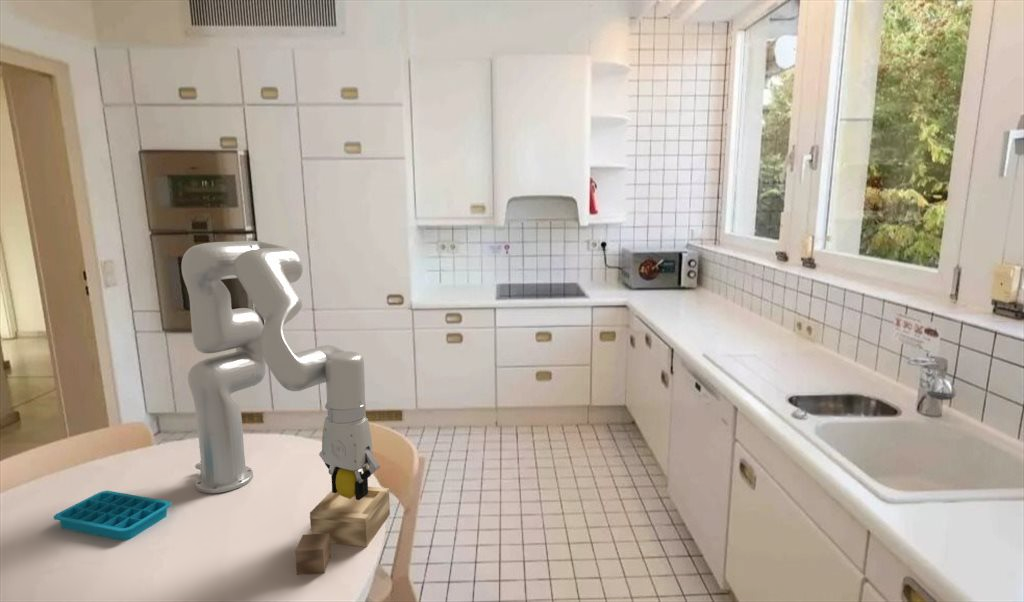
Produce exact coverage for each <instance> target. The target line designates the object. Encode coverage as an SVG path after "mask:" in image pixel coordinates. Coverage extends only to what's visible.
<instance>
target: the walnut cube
mask: <svg viewBox="0 0 1024 602" xmlns="http://www.w3.org/2000/svg"><path fill="white" fill-rule="evenodd" d="M294 552H295V553H294V554H295V568H296V572H295V573H296V575H297V576H299V575H317V574H325V573H326V569H327V567H328V565H329V561H330V559H331V557H332V556H331V543H330V534H329V533H328V534H311V533H310V534H302V536H301V538H300V540H299V542H298V544H297V546H296V548H295V549H294Z"/></svg>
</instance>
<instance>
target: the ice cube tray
mask: <svg viewBox="0 0 1024 602" xmlns="http://www.w3.org/2000/svg"><path fill="white" fill-rule="evenodd" d="M171 506H172V502H171V501H169V500H165V499H163V500H162V499H157V498H153V497H148V496H147V497H146V496H140V495H134V494H129V493H124V492H123V493H122V492H116V491H112V490H103V491H100V492H98V493H95V494H94V495H91V496H90V497H87V498H85V499H83V500H81V501H80V502H78V503H75V504H74V505H72V506H70V507H67V508H65V509H64V510H62V511H60V512H58V513H57V512H56V513H55V514H54V515H53V519H54V520H55V521H56V520H57V521H60V526H61V528H62V529H66V530H69V531H70V530H72V531H75V532H80V533H86V534H91V535H95V536H99V537H100V536H101V537H105V538H111V539H114V540H119V541H127V540H131V539H132V538H134V537H136V536H138V535H139V534H140V533H143V532H144V531H145V530H148V529H149V528H150V527H153V526H155V524H156V523H159V522H160V521H161V520H163V519H164V518H167V515H168V509H169V508H170V507H171Z"/></svg>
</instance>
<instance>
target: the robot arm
mask: <svg viewBox="0 0 1024 602" xmlns="http://www.w3.org/2000/svg"><path fill="white" fill-rule="evenodd" d="M302 262H303V261H302V260H301V258H300V256H299V255H298V254H297V253H296V252H295V251H294V250H292V249H291V248H289V247H287V246H282V245H278V244H273V243H269V242H265V241H260V240H259V241H258V240H239V241H215V242H204V243H200V244H197V245H196V244H195V245H193V246H191V247H190V248H188V249H187V250H186V251H185V253H184V254H183V256H182V260H181V266H180V267H181V275H182V279H183V281H184V284H185V286H186V289H187V293H188V300H189V310H190V311H189V312H190V313H189V314H190V323H191V325H190V326H191V333H192V334H191V335H192V341H193V345H194V348H196V350H197V351H198V352H200V353H201V354H217V353H220V352H225V351H229V350H230V351H231V350H233V349H235V351H234V352H230V353H227V354H221V355H218V356H214V357H213V356H212V357H210V358H209V357H208V358H206V359H203V360H201V361H198V362H197V363H196V364H193V366H192V367H191V368H190V369H189V371H188V374H187V380H188V385H189V386H188V387H189V390H190V392H191V395H192V399H193V402H194V409H195V415H196V425H197V434H198V443H199V445H198V446H199V455H200V456H199V457H200V463H199V462H198V463H196V464H195V466H194V467H195V469H197V470H200V471H199V472H200V476H199V477H198V478H196V481H195V489H196V490H198V491H199V492H201V493H206V494H220V493H225V492H230V491H233V490H236V489H238V488H239V489H240V487H243V486H245V485H247V484H248V483H249V482H250V481H251V480H252V478H253V476H254V473H253V472H254V471H253V469H252V468H251V467H249V466H246V458H245V457H246V456H245V445H244V444H245V443H244V433H243V432H244V431H243V419H242V411H241V408H240V406H239V405H238V403H237V402H236V401H235V400H234V399H233V398H232V397H231V395H232V394H233V393H237V392H238V391H242V390H245V389H248V388H251V387H254V386H256V385H259V384H260V383H261V382H262V381H263V380H264V378H265V376H266V371H267V367H268V369H269V370H270V372H271V373H272V375H273V376H274V378H275V379H276V381H277V382H278V383H279V384H280V386H282V387H283V388H284V389H286V390H287V391H289V392H299V391H300V392H301V391H303V390H306V389H309V388H312V387H315V386H317V385H321V384H323V383H324V384H325V387H326V390H325V391H326V403H325V407H324V408H325V409H326V411H327V416H326V417H325V418H324V421H323V429H322V437H321V438H322V439H321V451H320V452H319V453H318V455H319V457H320V458H321V459H322V461H323V462H324V465H325V466H326V467H327V469H328V474H329V475H330V476H331V477H330V478H331V491H332V493H336V492H338V491H337V489H336V475H337V473H338V470H339V469H340V468H343V469H346V470H350V471H355V474H356V478H357V481H356V482H355V495H356V500H360V499H361V498H363V497H364V496H366V495H367V494H368V487H369V484H368V483H369V482H368V480H369V479H368V478H370V477H371V476H372V475H373V474H374V473H375V472H376V471H378V469H380V464H379V462H378V461H377V459H376V458H375V456H374V453H373V452H374V451H373V450H374V449H373V440H372V431H371V428H370V426H371V425H370V422H369V419H368V417H367V414H366V408H367V407H366V388H365V387H366V385H365V384H366V383H365V361H364V357H363V356H362V354H360V353H359V352H356V351H347V350H343V349H341V348H338V347H336V346H334V345H329V344H328V345H327V344H326V345H321V346H317V347H314V348H310V349H305V350H302V351H299V352H293V351H292V349H291V347H290V346H289V345H288V343H287V341H286V339H285V336H284V331H283V330H284V325H285V324H287V323H288V322H290V321H291V320H292V319H293V318H294V317H296V316H297V315H298V313H299V312H300V311H301V310H302V307H303V301H302V299H301V298H300V295H298V293H297V292H296V290H295V289H294V287H293V285H292V283H295V282H297V281H299V279H300V278H301V277H302V275H303V263H302ZM228 279H237V280H238V281H239V282H240V285H242V288H243V289H244V290H245V292H246V294H247V295H248V297H249V298H250V300H251V301H252V303H253V304H254V306H255V308H256V310H257V311H258V313H259V314H260V316H261V317H260V316H259V314H258V313H257V312H256V311H255V310H253V309H252V308H251V309H250V308H247V307H241V308H240V307H239V308H234V309H233V308H232V297H231V296H232V295H231V293H230V291H229V289H228V287H227V286H226V285H225V284H224V283H225V282H223V281H222V280H228ZM261 318H262V319H263V321H262V319H261ZM361 472H362V473H361Z"/></svg>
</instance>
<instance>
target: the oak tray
mask: <svg viewBox="0 0 1024 602" xmlns="http://www.w3.org/2000/svg"><path fill="white" fill-rule="evenodd" d="M390 507H391V505H390V488H388V487H386V488H385V487H376V486H368V494H367V495H366V496H364V497H363V498H361V499H360V500H356V496H354V497H352V498H351V499H348V498H346V497H343V496H341V495H340V494H339V493H338V492H336V493H332V490H331V491H329V493H328V494H327V495H326V496H324V498H322V500H321V501H320V502H319V503H318V504H317V505H316V506H315V507H314V508H313V509H312V510H311V511H310V512H309V517H310V518H309V520H310V534H328V533H329V534H330V544H338V545H346V546H356V547H362V548H363V547H364V548H367V547H368V546H369V544H370V543H371V542H372V540H373V539H374V537H375V536H376V535H377V533H378V532H379V530H380V529H381V528H382V526H383V525H384V523H386V521H387V520H388V518H389V517H390V515H391V510H390V509H391V508H390Z"/></svg>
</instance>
